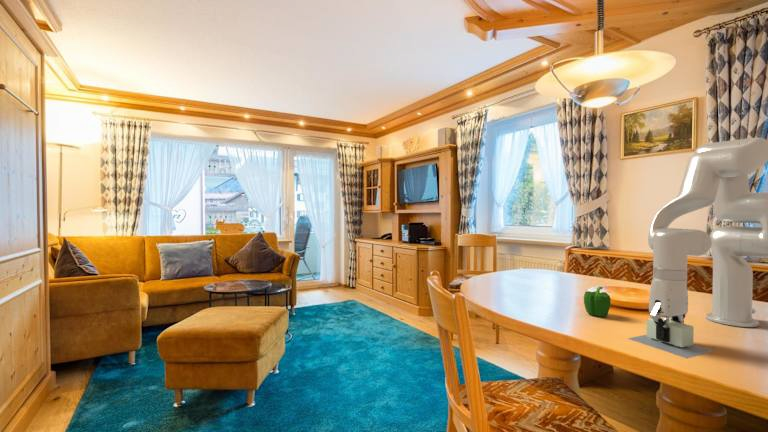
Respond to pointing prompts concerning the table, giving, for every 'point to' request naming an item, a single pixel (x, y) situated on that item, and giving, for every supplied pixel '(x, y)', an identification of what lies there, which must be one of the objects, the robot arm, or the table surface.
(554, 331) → the table surface
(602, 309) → the bell pepper
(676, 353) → the card
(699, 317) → the table surface
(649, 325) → the sage block
